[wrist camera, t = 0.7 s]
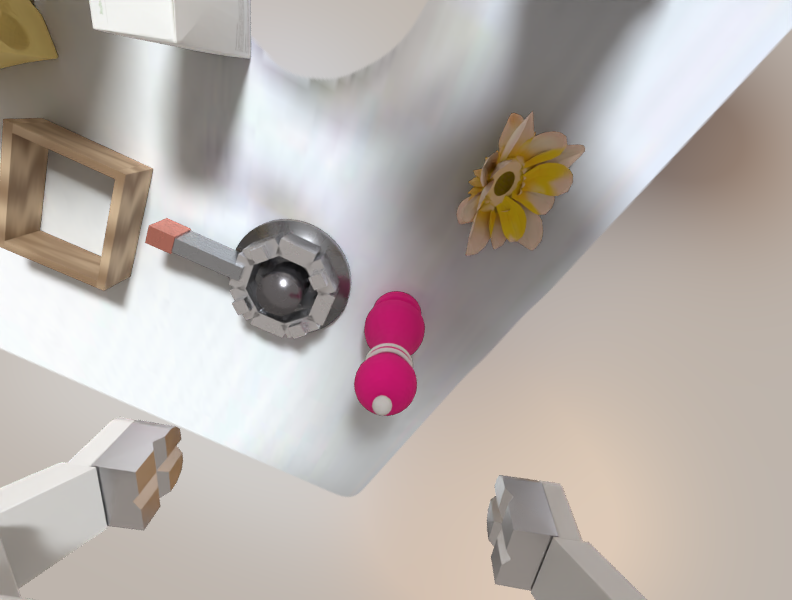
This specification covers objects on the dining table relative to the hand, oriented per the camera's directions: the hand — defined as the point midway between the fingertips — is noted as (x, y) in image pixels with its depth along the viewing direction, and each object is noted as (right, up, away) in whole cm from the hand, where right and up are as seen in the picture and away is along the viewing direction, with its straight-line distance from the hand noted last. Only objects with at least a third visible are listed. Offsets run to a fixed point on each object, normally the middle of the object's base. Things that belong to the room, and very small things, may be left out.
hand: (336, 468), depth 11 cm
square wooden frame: (-36, +16, +42) cm, 58 cm away
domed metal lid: (-12, +7, +44) cm, 46 cm away
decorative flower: (+14, +17, +38) cm, 44 cm away
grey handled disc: (-16, +9, +42) cm, 46 cm away
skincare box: (-16, +33, +33) cm, 50 cm away
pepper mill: (+2, +3, +45) cm, 45 cm away
